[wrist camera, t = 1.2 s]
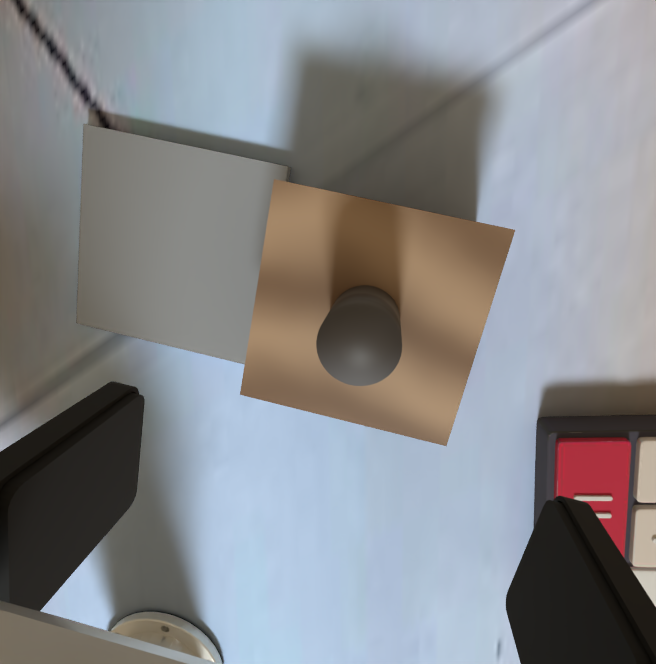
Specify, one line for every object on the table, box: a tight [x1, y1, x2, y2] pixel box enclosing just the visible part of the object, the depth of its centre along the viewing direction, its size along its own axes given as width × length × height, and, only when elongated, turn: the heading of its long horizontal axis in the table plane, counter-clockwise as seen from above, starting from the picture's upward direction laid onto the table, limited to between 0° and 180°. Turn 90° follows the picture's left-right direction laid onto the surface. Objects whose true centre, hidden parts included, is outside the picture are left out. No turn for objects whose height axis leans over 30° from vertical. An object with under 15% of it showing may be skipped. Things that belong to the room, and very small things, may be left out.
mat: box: [76, 124, 291, 364], centre depth 34 cm, size 15×15×1 cm
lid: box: [240, 179, 515, 446], centre depth 24 cm, size 13×13×7 cm
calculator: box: [534, 415, 656, 607], centre depth 34 cm, size 11×4×15 cm
